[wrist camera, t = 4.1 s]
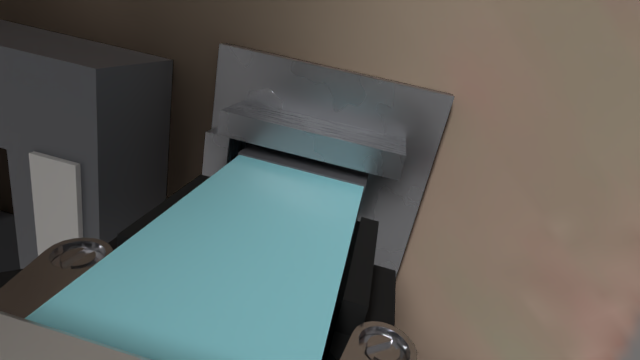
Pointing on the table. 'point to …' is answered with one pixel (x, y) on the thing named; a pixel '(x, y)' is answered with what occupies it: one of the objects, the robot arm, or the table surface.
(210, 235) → the plug
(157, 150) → the port
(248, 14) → the table surface
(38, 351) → the robot arm
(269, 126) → the holster
